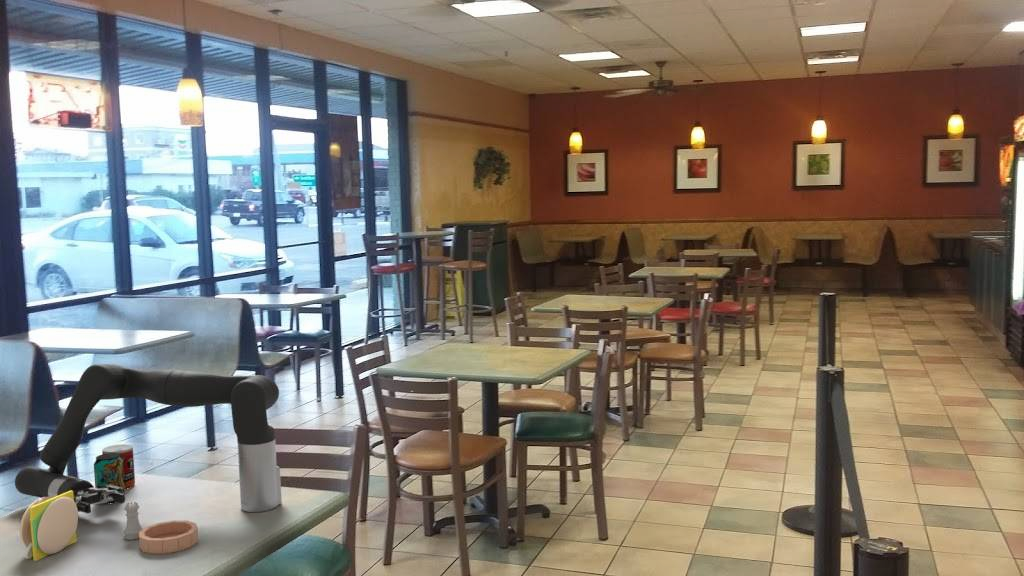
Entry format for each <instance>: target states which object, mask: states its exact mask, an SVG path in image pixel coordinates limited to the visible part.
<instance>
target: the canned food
mask: <svg viewBox="0 0 1024 576" xmlns="http://www.w3.org/2000/svg"><path fill="white" fill-rule="evenodd" d="M101 453H102V454H108V453H117V454H120V458H121V459H122V460H123V471H124V486H125V489H126V490H128V489H127V488H130V487H132V486H133V487H135V483H136V474H135V460H134V459H135V457H134V447H133V445H131V444H124V443H123V444H114V445H109V446H106V447H104V448H102V452H101ZM102 454H101V455H102ZM133 487H132V488H133ZM130 489H131V488H130Z"/></svg>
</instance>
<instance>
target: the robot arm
mask: <svg viewBox="0 0 1024 576" xmlns="http://www.w3.org/2000/svg"><path fill="white" fill-rule="evenodd" d="M279 397H280V388H279V386H278V385H277V383H276V382H275V380H273V379H272V378H270V377H268V376H266V375H261V374H260V375H259V374H256V375H255V374H254V375H224V374H216V373H210V372H202V371H194V370H185V369H184V370H183V369H155V370H154V369H153V370H143V369H136V368H131V367H128V366H123V365H118V364H113V363H112V364H111V363H109V364H108V363H95V364H92V365H90V366H89V367H87V368H86V369H84V371H83V372H82V374H81V376H80V378H79V380H78V383H77V385H76V388H74V391H73V394H72V396H71V399H70V400H69V403H68V405H67V407H66V409H65V411H64V413H63V415H62V418H61V419H60V422H59V423H58V425H57V426H56V428H55V429H54V431H53V433H52V434H51V436H50V437H49V439H48V440H47V442H46V443H45V445H44V446H43V448H42V449H41V451H40V454H39V459H40V461H41V462H42V463H43V464H45V465H46V466H48V467H49V468H48V469H45V468H40V467H35V466H26V467H24V468H22V469H21V470H19V472H17V474H16V476H15V479H14V486H15V489H16V490H17V491H18V492H19V493H20V494H22V495H25V496H26V495H27V496H32V497H37V498H39V499H40V498H43V497H56V496H58V495H61V494H63V493H66V492H68V491H70V490H71V491H73V496H74V502H75V503H76V506H77V509H78V513H80V512H81V513H84V514H91V513H92V507H91V506H92V505H96V504H100V503H107V502H108V501H115V502H117V503H119V504H124V503H125V502H126V494H125V495H124V494H123V488H121V487H117V486H113V485H106V488H95V486H94V485H93V484H92V483H91V482H89V481H88V480H87V479H86V480H85V479H81V478H79V477H74V476H71V475H64V474H65V470H66V468H67V465H68V463H69V461H70V460H71V458H72V456H73V455H74V453H75V452H76V450H77V449H78V448H79V445H80V444H81V442H82V439H83V436H84V432H85V425H86V422H87V420H88V417H89V415H90V414H91V412H92V410H93V409H94V408H95V407H96V405H97V404H98V403H99V402H100V401H103V400H105V401H107V400H109V401H110V400H116V399H117V400H118V399H143V400H149V401H151V402H154V403H157V404H161V405H164V406H173V407H184V408H193V407H195V408H196V407H206V406H207V407H208V406H215V405H224V404H225V405H226V404H227V405H228V404H229V405H230V407H231V416H232V417H231V418H232V426H233V427H232V428H233V431H234V433H235V435H236V438H237V439H236V441H237V454H238V455H237V456H238V475H239V476H238V477H239V478H238V479H239V494H240V509H241V510H242V511H244V512H247V513H248V512H249V513H259V512H266V511H269V510H273V509H275V508H277V507H278V506H279V505H280V504H283V502H282V486H281V485H282V484H281V482H282V481H281V468H280V466H278V465H277V449H276V430H275V428H274V426H272V425H269V423H268V415H267V414H268V413H267V410H269V409H270V408H272V407H273V406H274V405H275V404H276V403H277V401H278V400H279ZM102 494H103V495H104V500H101V498H102ZM109 496H111V497H112V498H109Z"/></svg>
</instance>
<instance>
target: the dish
mask: <svg viewBox="0 0 1024 576" xmlns="http://www.w3.org/2000/svg"><path fill="white" fill-rule="evenodd" d="M198 541H199V530H198V524H197V523H196V522H193V521H189V520H170V521H169V520H168V521H161V522H157V523H154V524H152V525H149V526H146V527H144V528H143V530H141V531H140V532H139V540H138V542H139V549H141V550H142V551H144V552H146V553H145V554H148V553H152V554H151V555H165V554H167V553H168V554H173V553H172V552H174V553H177V551H178V552H182V551H185V550H187V549H189V548H191V547H193V546H195V545H196V544H197V543H198ZM141 550H140V551H141ZM181 550H182V551H181ZM142 551H141V552H142ZM144 552H143V553H144ZM168 554H167V555H168Z"/></svg>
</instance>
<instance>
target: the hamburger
mask: <svg viewBox="0 0 1024 576" xmlns="http://www.w3.org/2000/svg"><path fill="white" fill-rule="evenodd" d="M78 522H79V512H78V509H77V506H76V503H75V502H74V496H73V491H71V490H70V491H68V492H66V493H63V494H61V495H58V496H56V497H43V498H40V497H39V498H38V499H36V500H35V501H33V502H32V503H31V504H30V505H29V506H28V507H27V508H26V510H25V512H24V513H23V515H22V518H21V520H20V525H19V537H20V540H21V541H22V543H23V545H24V546H25V547H26V550H25V552H24V558H25V559H27V560H31V558H33V561H34V562H36V561H39V560H41V559H43V558H45V557H48V556H49V555H55V554H57V553H59V552H61V551H62V550H64V548H66V547H68V546H70V545H72V544H74V543H76V542H78V540H77V539H78V538H77V530H78ZM75 541H76V542H75ZM73 542H74V543H73ZM67 545H68V546H67ZM65 546H66V547H65Z"/></svg>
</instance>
